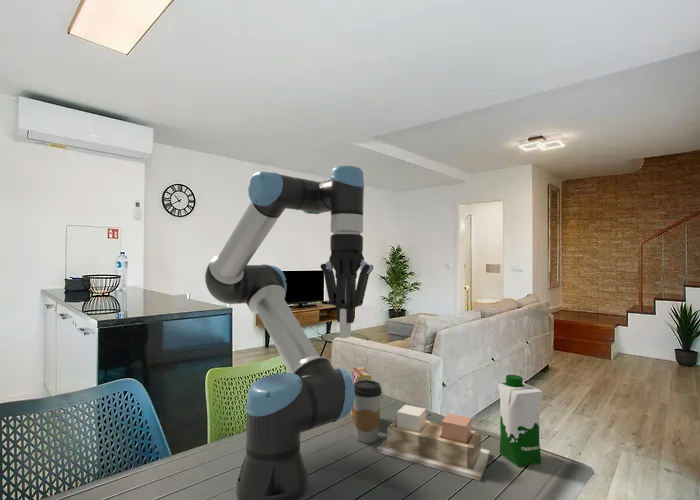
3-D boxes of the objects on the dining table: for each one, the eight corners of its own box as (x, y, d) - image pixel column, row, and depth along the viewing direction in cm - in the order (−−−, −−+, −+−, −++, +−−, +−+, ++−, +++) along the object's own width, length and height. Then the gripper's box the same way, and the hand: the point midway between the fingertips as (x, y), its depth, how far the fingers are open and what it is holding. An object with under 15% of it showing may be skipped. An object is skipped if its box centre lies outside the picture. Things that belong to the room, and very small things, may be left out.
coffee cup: (381, 432, 111) (382, 380, 112) (380, 445, 103) (381, 389, 103) (353, 430, 112) (353, 379, 112) (350, 443, 104) (351, 388, 104)
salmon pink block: (441, 449, 95) (441, 421, 95) (447, 440, 100) (448, 413, 100) (466, 455, 92) (466, 426, 92) (471, 445, 97) (471, 418, 98)
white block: (396, 438, 101) (397, 411, 101) (404, 429, 106) (405, 404, 106) (418, 443, 98) (418, 416, 98) (425, 434, 103) (426, 408, 103)
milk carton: (522, 447, 103) (521, 373, 103) (547, 465, 94) (547, 383, 95) (494, 451, 100) (494, 375, 101) (517, 469, 92) (517, 386, 92)
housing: (376, 452, 99) (377, 428, 99) (396, 431, 111) (397, 411, 112) (480, 481, 87) (480, 454, 87) (490, 454, 99) (490, 431, 99)
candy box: (371, 425, 116) (371, 374, 116) (357, 426, 115) (358, 375, 115) (363, 414, 124) (364, 367, 125) (350, 415, 123) (351, 367, 124)
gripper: (379, 234, 88) (378, 337, 87) (331, 236, 94) (329, 331, 93) (364, 232, 81) (363, 343, 80) (314, 233, 87) (312, 336, 87)
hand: (345, 336), depth 87 cm, fingers closed
